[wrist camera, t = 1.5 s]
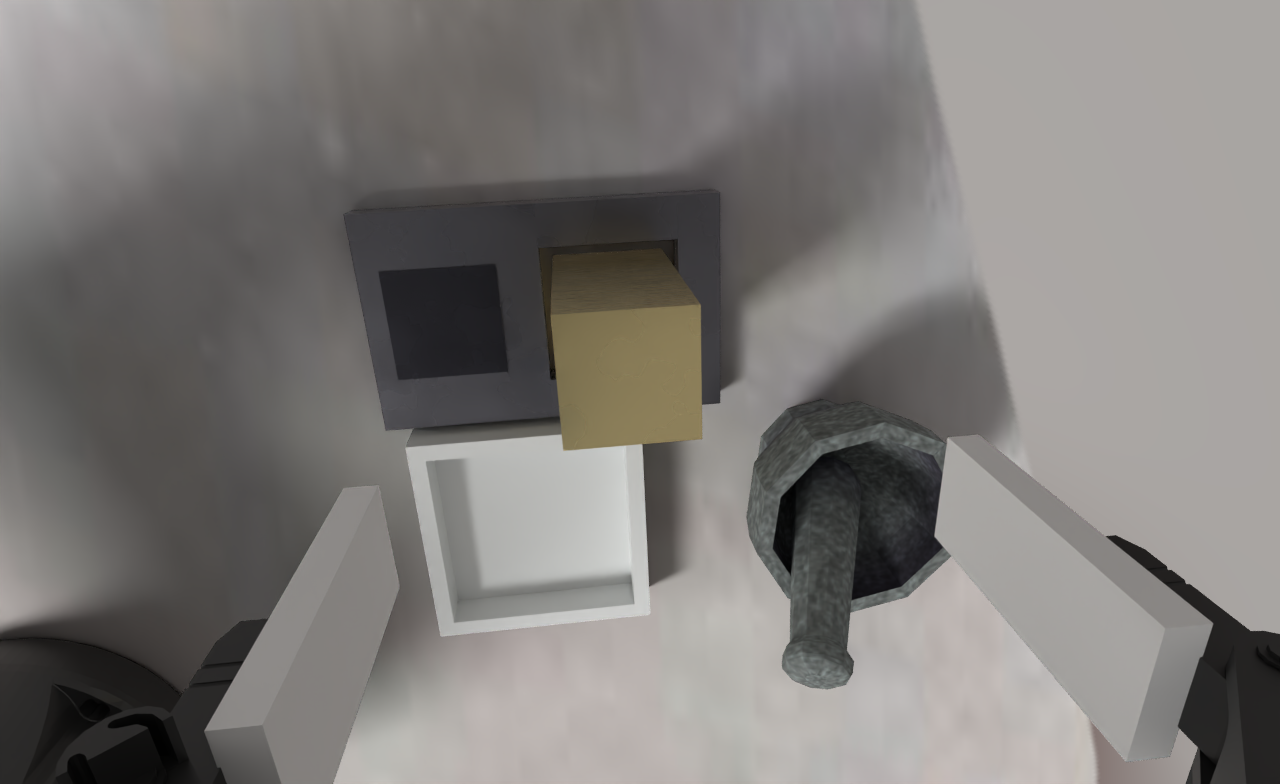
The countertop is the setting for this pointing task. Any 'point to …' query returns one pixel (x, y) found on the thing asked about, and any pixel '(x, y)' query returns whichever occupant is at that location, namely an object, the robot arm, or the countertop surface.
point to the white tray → (528, 526)
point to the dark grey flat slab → (503, 296)
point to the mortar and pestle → (843, 522)
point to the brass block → (625, 350)
